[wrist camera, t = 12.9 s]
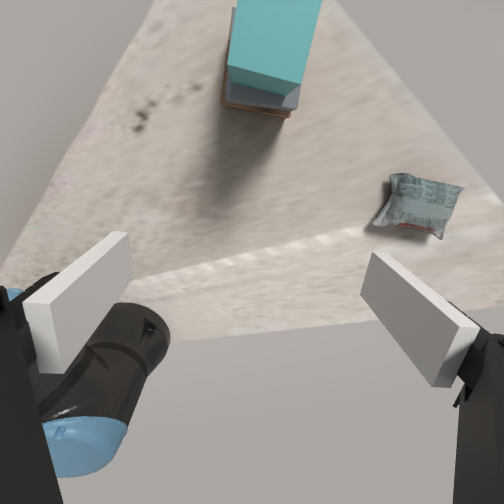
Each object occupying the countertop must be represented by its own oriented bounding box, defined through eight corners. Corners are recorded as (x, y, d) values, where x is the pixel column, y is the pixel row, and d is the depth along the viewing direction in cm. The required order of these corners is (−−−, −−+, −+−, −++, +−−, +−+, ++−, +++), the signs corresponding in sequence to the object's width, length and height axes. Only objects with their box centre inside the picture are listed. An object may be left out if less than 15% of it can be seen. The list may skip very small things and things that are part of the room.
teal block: (231, 82, 30) (227, 64, 22) (243, 13, 28) (243, -35, 20) (285, 96, 31) (300, 84, 23) (301, 30, 29) (324, -10, 20)
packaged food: (430, 234, 49) (450, 244, 44) (366, 221, 47) (379, 230, 43) (455, 184, 45) (478, 189, 41) (386, 168, 44) (403, 172, 39)
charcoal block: (227, 102, 35) (225, 98, 31) (234, 24, 32) (232, 6, 28) (290, 111, 36) (297, 108, 31) (302, 35, 33) (311, 20, 28)
